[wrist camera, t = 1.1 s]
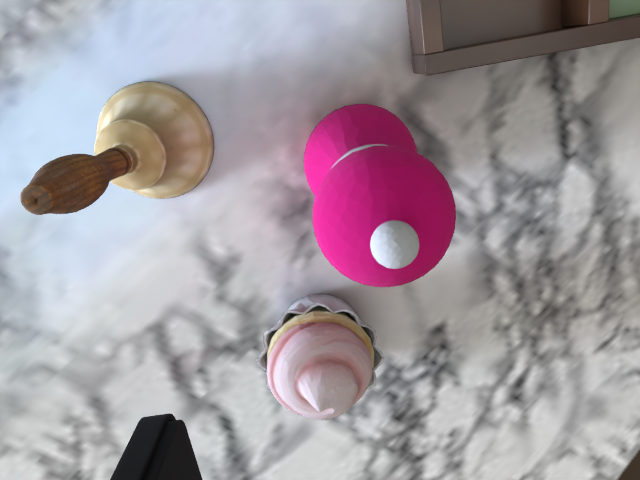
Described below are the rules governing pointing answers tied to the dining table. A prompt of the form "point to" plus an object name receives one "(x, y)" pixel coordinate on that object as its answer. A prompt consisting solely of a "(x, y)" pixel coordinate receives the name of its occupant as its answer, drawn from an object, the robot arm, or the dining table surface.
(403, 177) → the pepper mill
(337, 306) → the cupcake
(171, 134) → the hand bell
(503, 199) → the dining table surface
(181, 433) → the robot arm
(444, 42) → the holder
